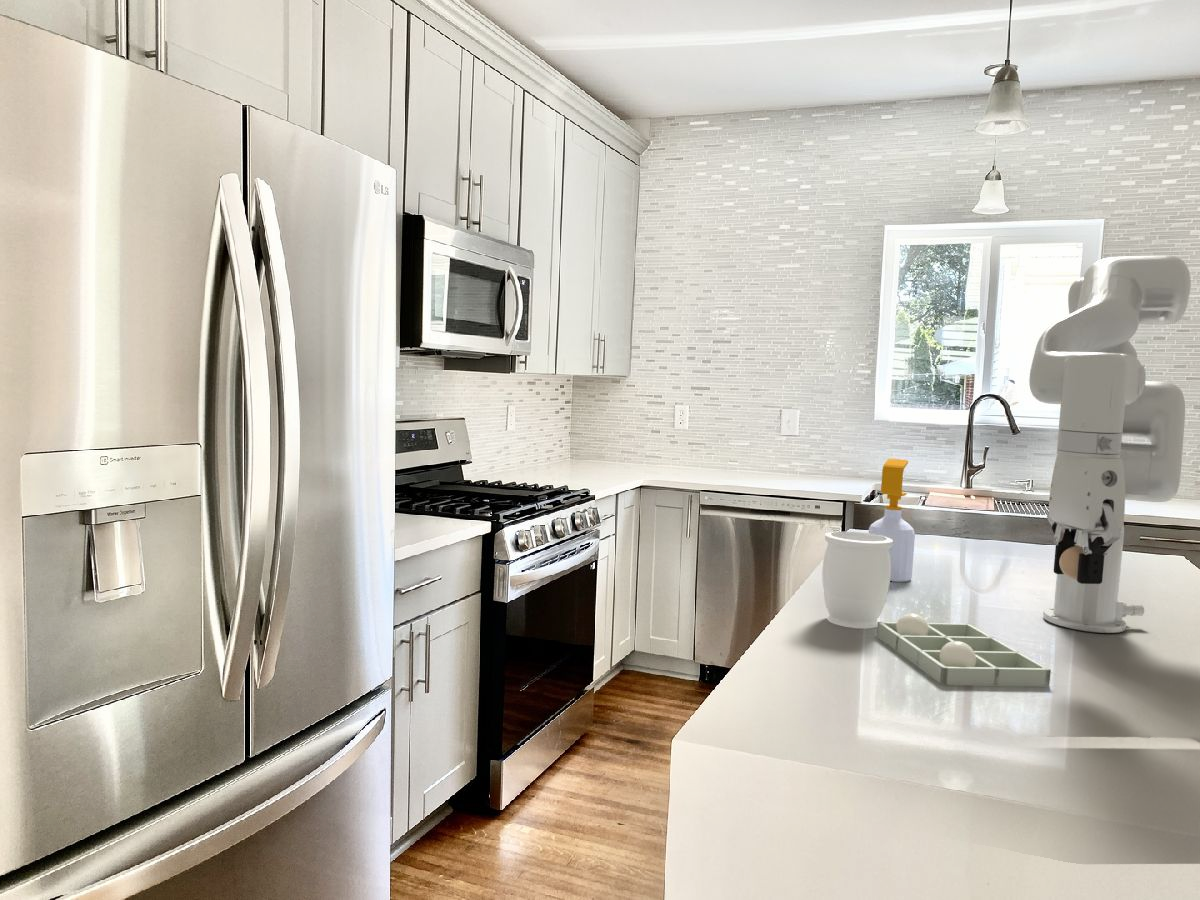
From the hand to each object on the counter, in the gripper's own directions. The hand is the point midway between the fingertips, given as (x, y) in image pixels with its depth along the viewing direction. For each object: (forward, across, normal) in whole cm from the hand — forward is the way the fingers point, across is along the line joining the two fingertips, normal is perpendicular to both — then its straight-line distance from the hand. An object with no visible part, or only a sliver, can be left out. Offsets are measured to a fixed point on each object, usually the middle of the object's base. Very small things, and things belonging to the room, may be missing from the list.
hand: (1077, 577), depth 121 cm
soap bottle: (+16, +62, -1) cm, 64 cm away
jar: (+15, +24, +21) cm, 36 cm away
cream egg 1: (+14, +12, +17) cm, 25 cm away
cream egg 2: (+13, -2, +17) cm, 22 cm away
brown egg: (0, 0, 0) cm, 0 cm away
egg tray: (+14, +6, +13) cm, 20 cm away
